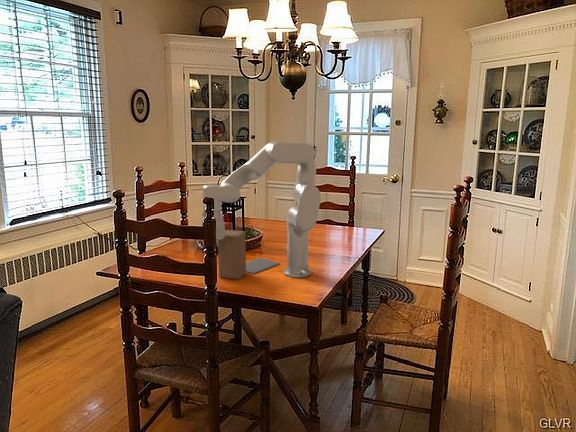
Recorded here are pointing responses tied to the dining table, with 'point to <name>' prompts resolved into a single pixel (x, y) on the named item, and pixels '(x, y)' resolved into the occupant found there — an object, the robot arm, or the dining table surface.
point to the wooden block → (232, 255)
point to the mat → (259, 265)
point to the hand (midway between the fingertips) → (213, 255)
